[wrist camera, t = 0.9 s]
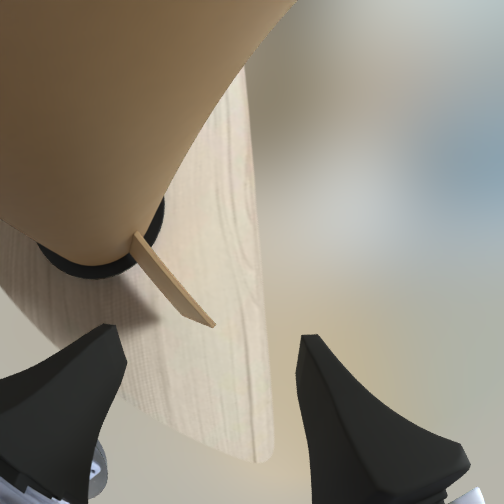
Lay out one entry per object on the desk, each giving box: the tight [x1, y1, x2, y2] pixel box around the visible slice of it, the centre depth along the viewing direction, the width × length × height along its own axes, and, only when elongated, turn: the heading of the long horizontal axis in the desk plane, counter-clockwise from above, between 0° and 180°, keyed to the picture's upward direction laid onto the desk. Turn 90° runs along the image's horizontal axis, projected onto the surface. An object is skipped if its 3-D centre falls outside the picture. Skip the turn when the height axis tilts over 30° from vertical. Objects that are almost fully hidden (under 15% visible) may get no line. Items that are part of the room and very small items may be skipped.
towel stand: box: [37, 196, 165, 280], centre depth 20 cm, size 12×12×1 cm
